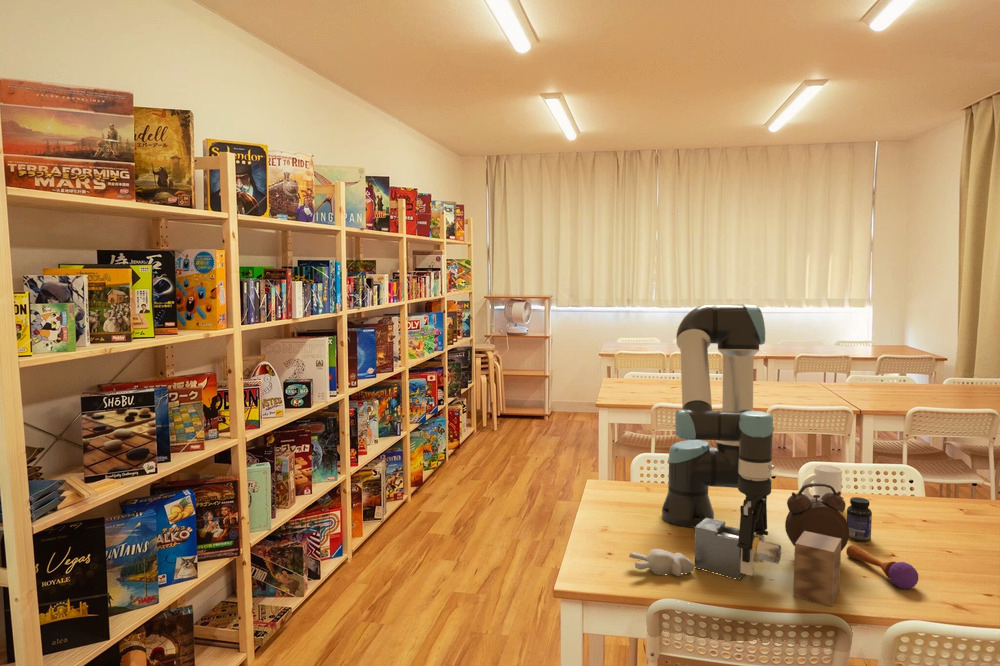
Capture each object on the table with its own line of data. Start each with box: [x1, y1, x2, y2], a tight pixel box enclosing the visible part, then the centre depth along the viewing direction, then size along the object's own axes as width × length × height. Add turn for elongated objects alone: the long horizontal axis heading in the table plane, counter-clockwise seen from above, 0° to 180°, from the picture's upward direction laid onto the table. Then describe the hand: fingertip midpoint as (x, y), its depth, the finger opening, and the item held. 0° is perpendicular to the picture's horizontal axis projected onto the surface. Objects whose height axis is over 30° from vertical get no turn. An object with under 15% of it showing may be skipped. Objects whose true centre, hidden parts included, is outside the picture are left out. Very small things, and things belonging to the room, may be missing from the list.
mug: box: [801, 464, 843, 501], centre depth 209 cm, size 8×12×12 cm
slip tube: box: [717, 531, 782, 565], centre depth 162 cm, size 19×6×6 cm, turn 53°
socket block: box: [792, 531, 842, 608], centre depth 152 cm, size 8×9×13 cm
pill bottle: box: [846, 496, 873, 543], centre depth 183 cm, size 6×6×11 cm
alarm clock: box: [784, 482, 850, 556], centre depth 170 cm, size 14×7×20 cm, turn 86°
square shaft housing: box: [694, 518, 744, 580], centre depth 165 cm, size 11×8×11 cm
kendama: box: [845, 544, 919, 590], centre depth 162 cm, size 6×6×20 cm
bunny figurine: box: [629, 548, 695, 577], centre depth 164 cm, size 10×5×15 cm
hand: (752, 566), depth 161 cm, fingers open, 8 cm apart
